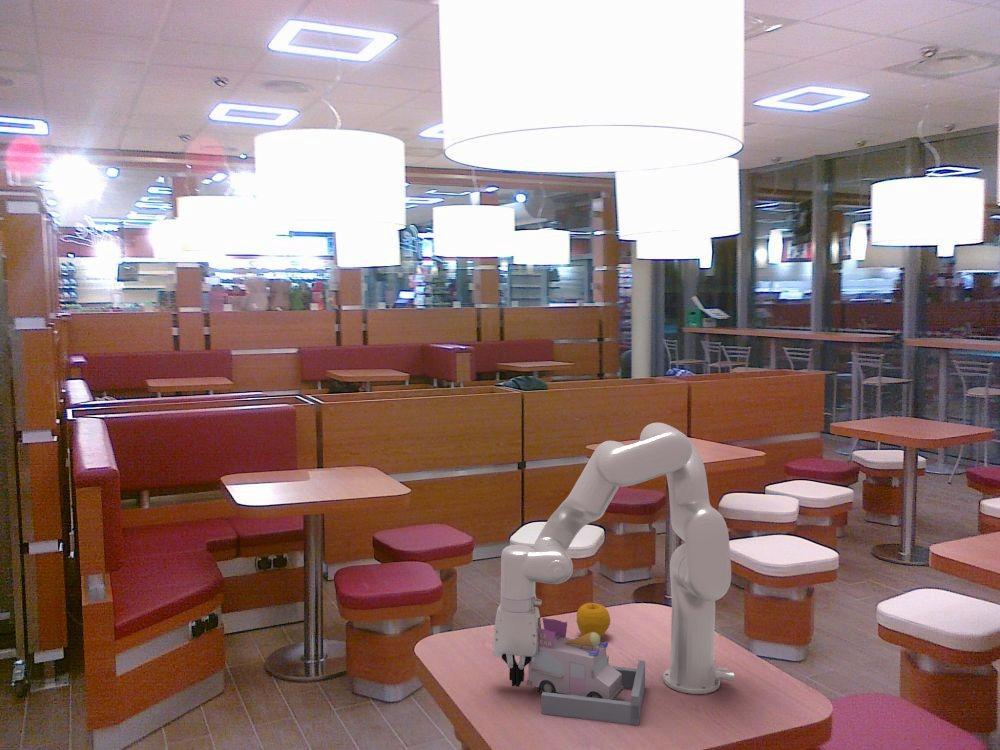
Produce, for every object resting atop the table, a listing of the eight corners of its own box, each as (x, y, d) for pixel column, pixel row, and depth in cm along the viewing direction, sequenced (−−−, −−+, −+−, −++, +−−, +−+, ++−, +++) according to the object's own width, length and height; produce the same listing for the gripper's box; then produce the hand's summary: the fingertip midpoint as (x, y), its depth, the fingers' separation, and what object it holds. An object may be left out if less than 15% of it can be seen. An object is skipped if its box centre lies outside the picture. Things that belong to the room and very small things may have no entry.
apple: (616, 638, 222) (617, 604, 221) (594, 647, 216) (595, 612, 215) (591, 629, 228) (591, 596, 227) (569, 637, 222) (569, 603, 221)
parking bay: (644, 686, 194) (645, 660, 194) (637, 725, 177) (638, 696, 176) (556, 677, 199) (556, 651, 198) (541, 713, 182) (541, 685, 181)
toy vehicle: (608, 715, 181) (609, 645, 180) (524, 694, 190) (525, 627, 189) (624, 697, 189) (625, 630, 188) (543, 678, 199) (543, 614, 197)
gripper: (554, 600, 192) (553, 680, 194) (489, 593, 196) (488, 672, 197) (548, 612, 185) (546, 695, 186) (480, 605, 188) (479, 687, 190)
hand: (516, 683), depth 192 cm, fingers closed
